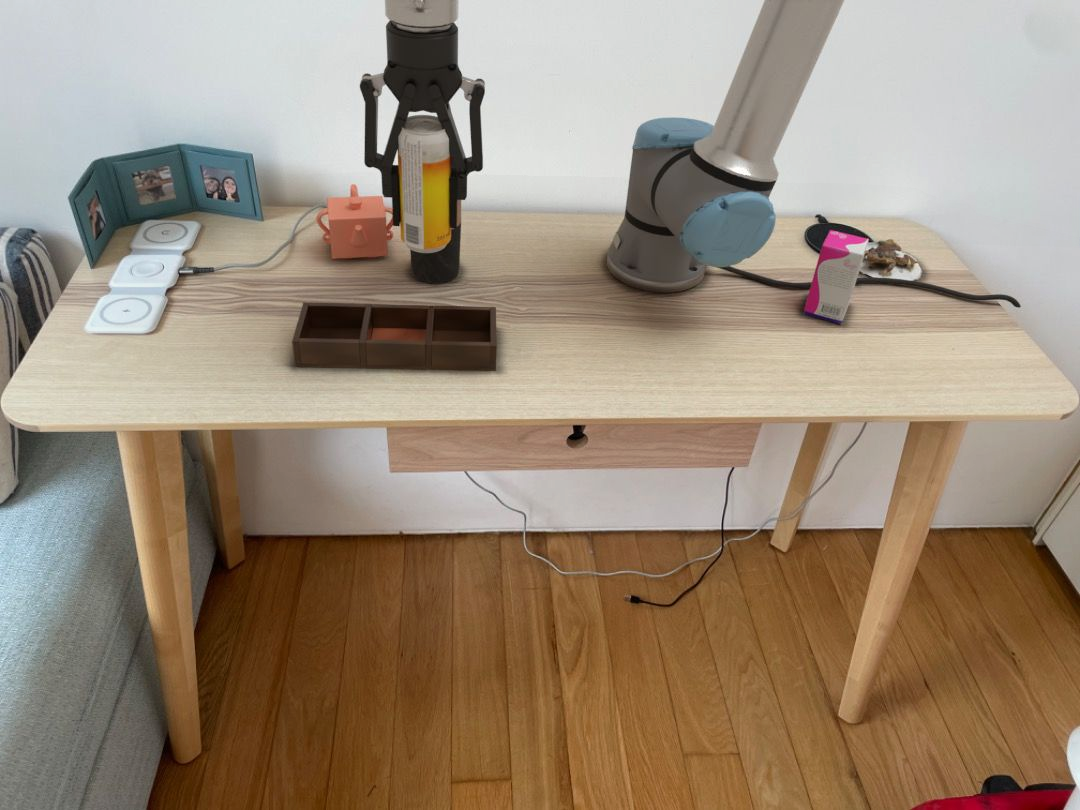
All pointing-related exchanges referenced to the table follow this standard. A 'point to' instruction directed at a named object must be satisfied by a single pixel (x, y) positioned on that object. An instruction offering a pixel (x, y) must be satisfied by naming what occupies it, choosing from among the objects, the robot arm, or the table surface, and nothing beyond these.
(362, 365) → the rack
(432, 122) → the beer can
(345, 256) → the teapot
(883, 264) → the plate of food
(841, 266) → the supplement box
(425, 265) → the travel mug
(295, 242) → the table surface
